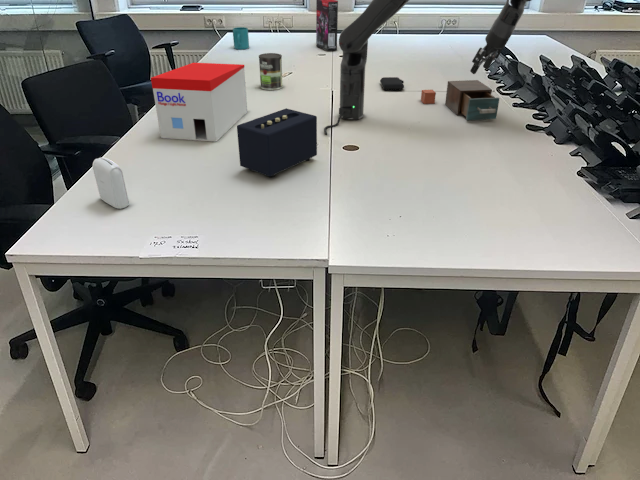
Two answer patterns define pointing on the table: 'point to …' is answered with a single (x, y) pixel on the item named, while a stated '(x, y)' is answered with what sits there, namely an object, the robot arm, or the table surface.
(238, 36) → the cup
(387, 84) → the carrying case
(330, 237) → the table surface
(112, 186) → the photo printer
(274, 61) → the coffee can
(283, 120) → the speaker
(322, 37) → the graphics card box
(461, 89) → the box
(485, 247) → the table surface
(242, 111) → the bookstore
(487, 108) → the drawer
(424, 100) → the block
